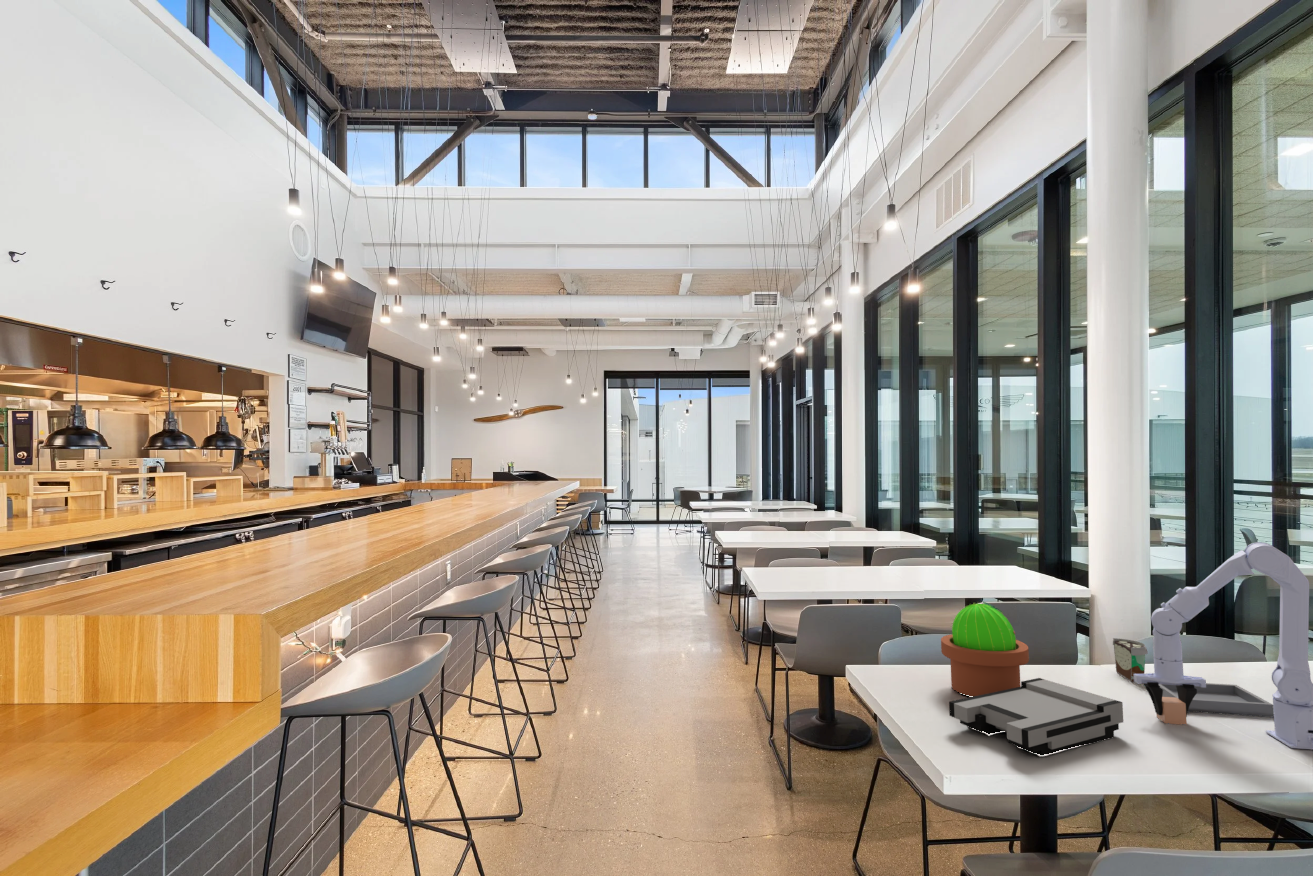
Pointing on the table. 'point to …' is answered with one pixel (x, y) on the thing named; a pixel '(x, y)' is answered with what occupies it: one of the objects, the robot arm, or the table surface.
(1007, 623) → the potted cactus
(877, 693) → the table surface
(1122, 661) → the food container
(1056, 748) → the gray blocky slab
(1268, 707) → the bin
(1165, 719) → the terracotta block
